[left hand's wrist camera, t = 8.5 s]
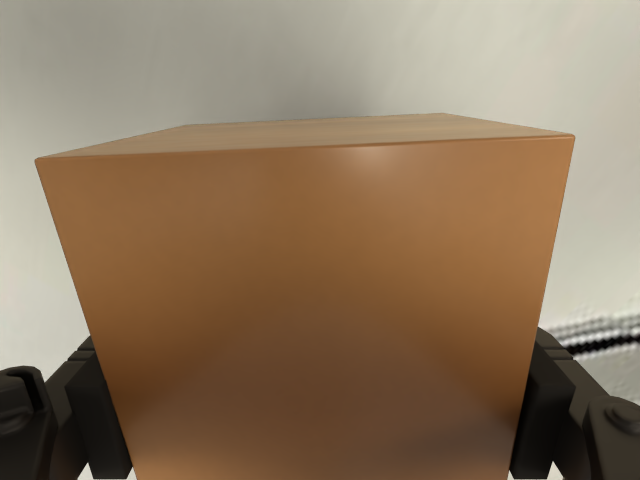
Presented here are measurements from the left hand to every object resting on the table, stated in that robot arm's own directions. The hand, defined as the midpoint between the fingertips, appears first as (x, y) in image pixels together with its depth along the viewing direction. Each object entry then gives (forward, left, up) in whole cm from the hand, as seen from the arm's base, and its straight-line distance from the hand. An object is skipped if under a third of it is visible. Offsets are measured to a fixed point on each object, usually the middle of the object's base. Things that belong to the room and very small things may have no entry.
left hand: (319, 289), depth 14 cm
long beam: (+26, -5, -1) cm, 26 cm away
